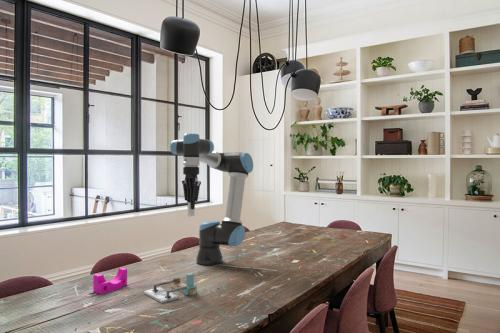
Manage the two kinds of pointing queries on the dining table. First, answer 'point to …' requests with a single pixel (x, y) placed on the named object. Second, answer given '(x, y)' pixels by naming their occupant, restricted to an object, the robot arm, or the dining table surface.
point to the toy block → (109, 282)
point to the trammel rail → (176, 285)
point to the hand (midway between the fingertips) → (191, 215)
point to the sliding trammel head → (185, 288)
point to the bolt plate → (160, 295)
